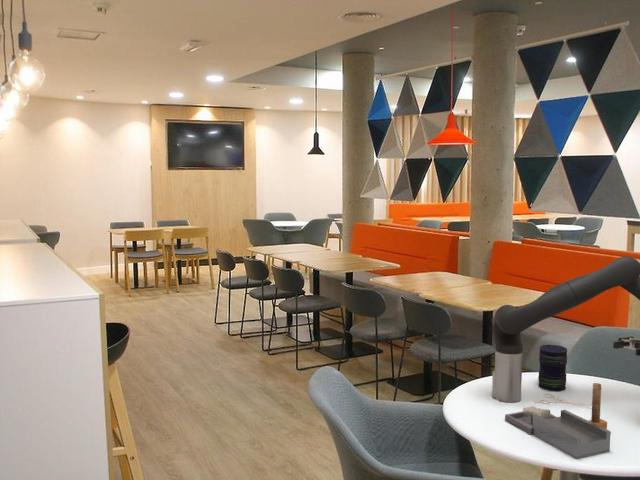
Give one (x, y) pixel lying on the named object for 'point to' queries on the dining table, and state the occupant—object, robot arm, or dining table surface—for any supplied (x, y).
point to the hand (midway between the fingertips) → (625, 348)
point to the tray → (520, 421)
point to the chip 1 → (528, 414)
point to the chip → (542, 413)
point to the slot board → (572, 434)
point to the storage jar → (552, 368)
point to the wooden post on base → (597, 406)
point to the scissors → (559, 401)
